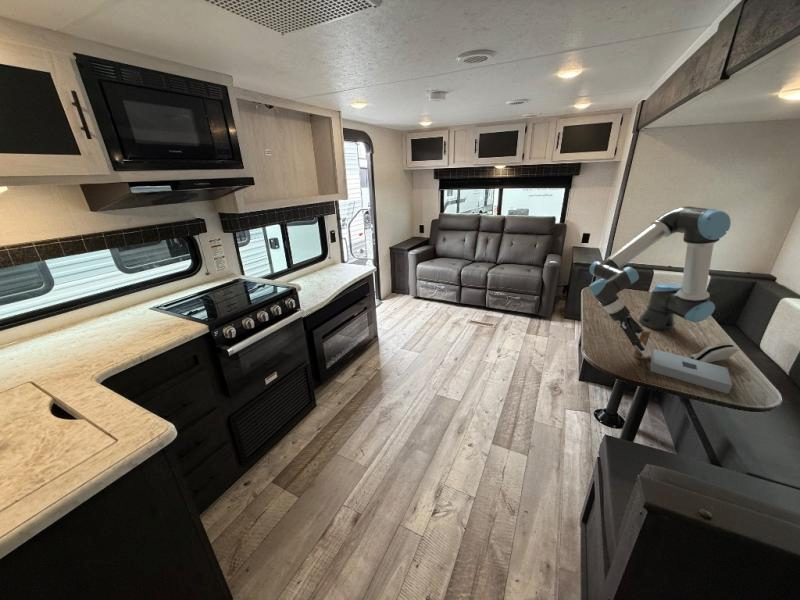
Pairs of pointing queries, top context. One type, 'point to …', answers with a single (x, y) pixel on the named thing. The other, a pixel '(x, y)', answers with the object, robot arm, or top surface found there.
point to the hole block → (691, 371)
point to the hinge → (715, 352)
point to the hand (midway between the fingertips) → (648, 350)
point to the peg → (643, 339)
